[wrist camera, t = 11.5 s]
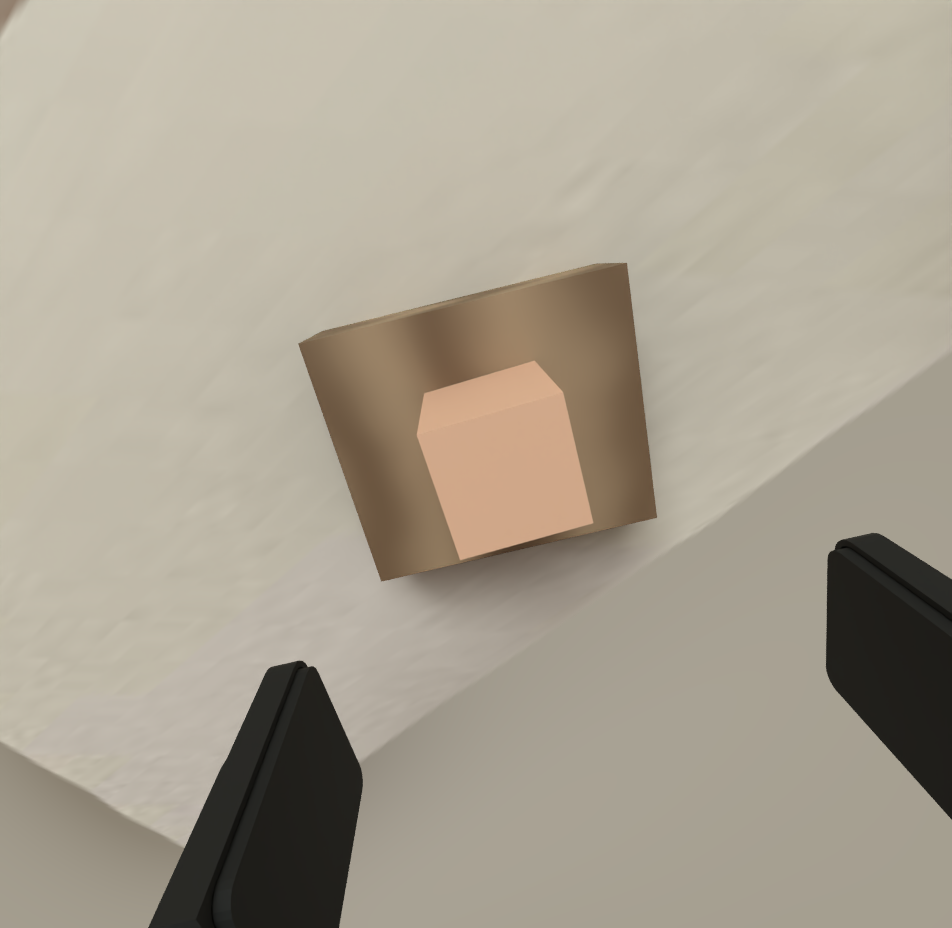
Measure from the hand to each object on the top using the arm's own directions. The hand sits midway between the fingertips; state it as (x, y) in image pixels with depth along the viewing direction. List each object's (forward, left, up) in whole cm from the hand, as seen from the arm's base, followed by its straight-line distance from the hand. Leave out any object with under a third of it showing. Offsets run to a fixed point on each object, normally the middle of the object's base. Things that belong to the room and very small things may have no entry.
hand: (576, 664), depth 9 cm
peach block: (0, 0, -15) cm, 15 cm away
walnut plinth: (0, 0, -20) cm, 20 cm away
